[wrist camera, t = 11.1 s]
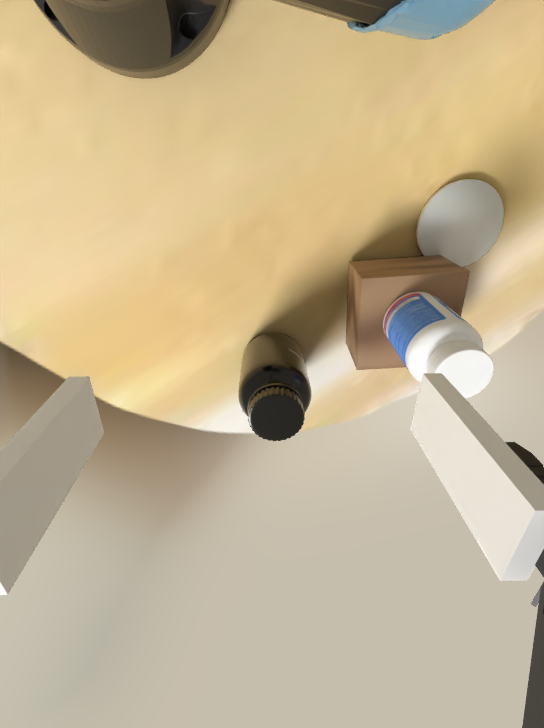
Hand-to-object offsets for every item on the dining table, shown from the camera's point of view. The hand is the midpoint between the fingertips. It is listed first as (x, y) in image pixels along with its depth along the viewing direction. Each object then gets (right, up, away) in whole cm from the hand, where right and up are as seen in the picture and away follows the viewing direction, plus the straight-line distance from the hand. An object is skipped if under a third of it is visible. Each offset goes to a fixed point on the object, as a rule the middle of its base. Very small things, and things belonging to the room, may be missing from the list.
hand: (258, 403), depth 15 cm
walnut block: (+13, +8, +23) cm, 28 cm away
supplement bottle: (+1, +2, +26) cm, 27 cm away
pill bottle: (+13, +6, +18) cm, 23 cm away
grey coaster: (+19, +15, +21) cm, 32 cm away
